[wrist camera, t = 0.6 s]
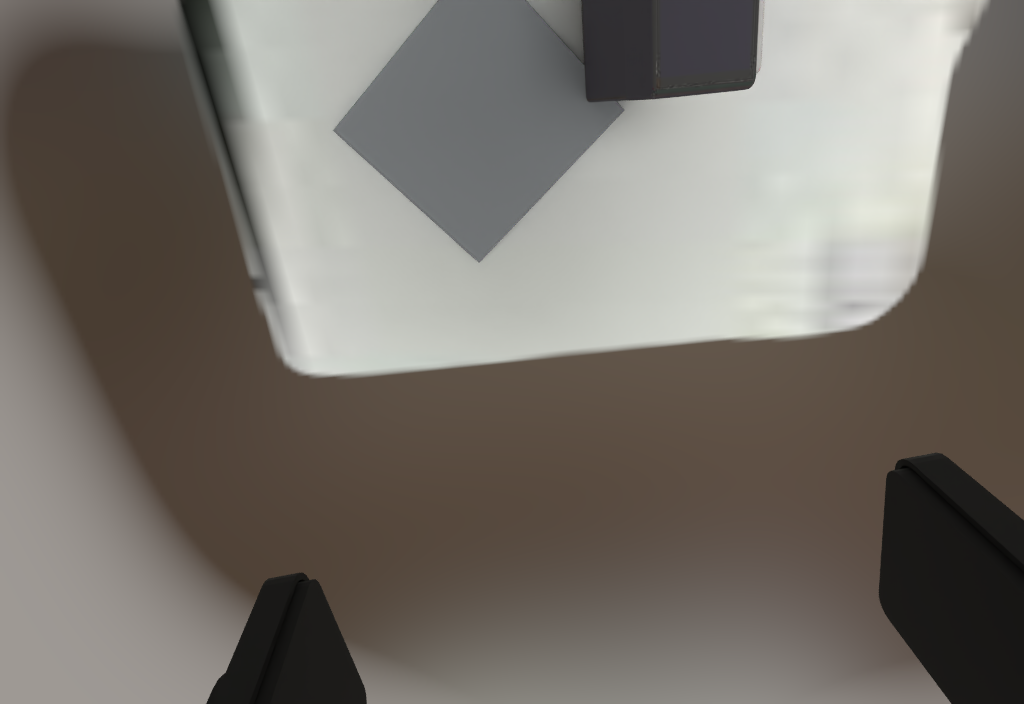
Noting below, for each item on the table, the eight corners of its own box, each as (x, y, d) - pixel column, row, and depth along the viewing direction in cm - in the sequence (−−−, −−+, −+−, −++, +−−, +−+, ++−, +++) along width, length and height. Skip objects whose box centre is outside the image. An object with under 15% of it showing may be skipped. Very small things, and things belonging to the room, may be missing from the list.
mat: (479, -50, 32) (479, -51, 32) (622, 109, 35) (624, 110, 35) (334, 130, 35) (333, 130, 35) (479, 261, 38) (479, 262, 38)
